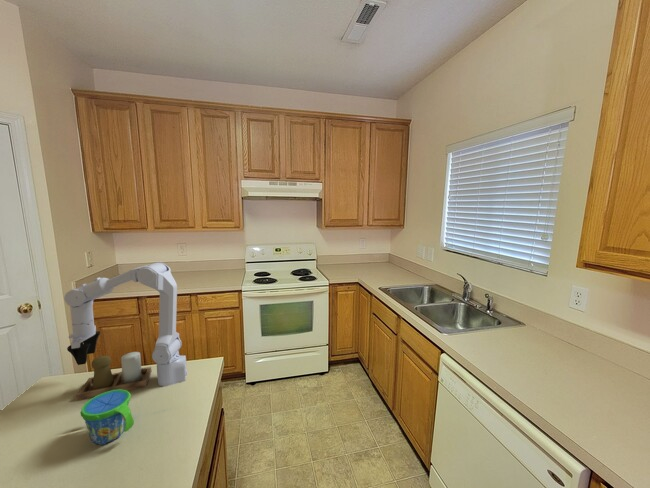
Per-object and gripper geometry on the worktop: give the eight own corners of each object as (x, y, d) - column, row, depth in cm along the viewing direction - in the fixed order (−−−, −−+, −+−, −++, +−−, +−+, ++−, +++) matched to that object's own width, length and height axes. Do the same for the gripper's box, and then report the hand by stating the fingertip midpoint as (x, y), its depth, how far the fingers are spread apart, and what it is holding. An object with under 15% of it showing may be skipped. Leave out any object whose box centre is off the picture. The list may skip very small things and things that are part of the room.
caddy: (151, 373, 105) (151, 366, 104) (146, 388, 96) (145, 381, 95) (89, 385, 97) (89, 377, 97) (77, 403, 88) (76, 395, 88)
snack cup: (147, 429, 78) (144, 396, 77) (106, 460, 68) (103, 422, 67) (112, 414, 84) (109, 383, 82) (69, 440, 74) (66, 406, 73)
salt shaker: (143, 375, 102) (141, 350, 101) (140, 384, 97) (138, 358, 96) (125, 379, 100) (123, 353, 98) (121, 388, 94) (118, 361, 93)
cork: (91, 387, 95) (88, 357, 94) (112, 379, 99) (110, 351, 98) (93, 395, 91) (90, 364, 89) (116, 387, 95) (113, 357, 94)
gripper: (77, 315, 99) (81, 350, 101) (57, 331, 86) (61, 372, 87) (101, 313, 102) (104, 347, 103) (85, 328, 89) (89, 367, 90)
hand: (86, 358), depth 96 cm, fingers open, 7 cm apart
